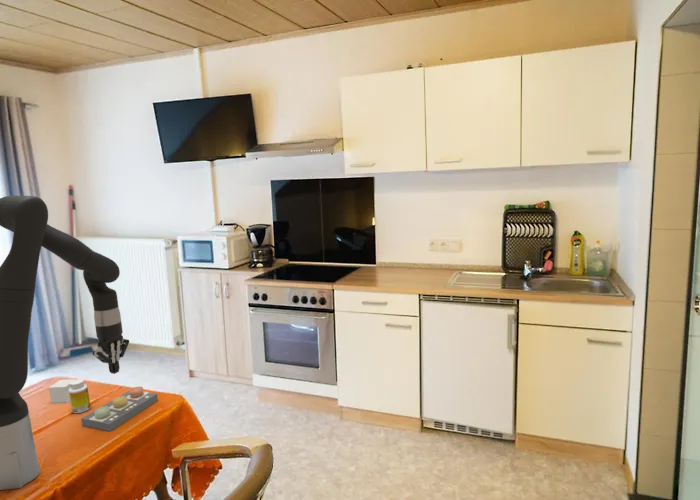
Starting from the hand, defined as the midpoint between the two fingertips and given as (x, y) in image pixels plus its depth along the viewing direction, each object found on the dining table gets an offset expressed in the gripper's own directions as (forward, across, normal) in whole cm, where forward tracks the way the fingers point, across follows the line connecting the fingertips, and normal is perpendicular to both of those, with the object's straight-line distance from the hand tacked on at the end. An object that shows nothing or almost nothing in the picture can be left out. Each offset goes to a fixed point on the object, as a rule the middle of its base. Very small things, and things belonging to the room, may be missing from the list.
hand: (114, 372), depth 153 cm
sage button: (+11, -7, 0) cm, 13 cm away
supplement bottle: (+15, -2, +15) cm, 21 cm away
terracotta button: (+11, +7, 0) cm, 13 cm away
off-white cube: (+15, +3, +29) cm, 32 cm away
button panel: (+14, 0, 0) cm, 14 cm away
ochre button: (+11, 0, 0) cm, 11 cm away
